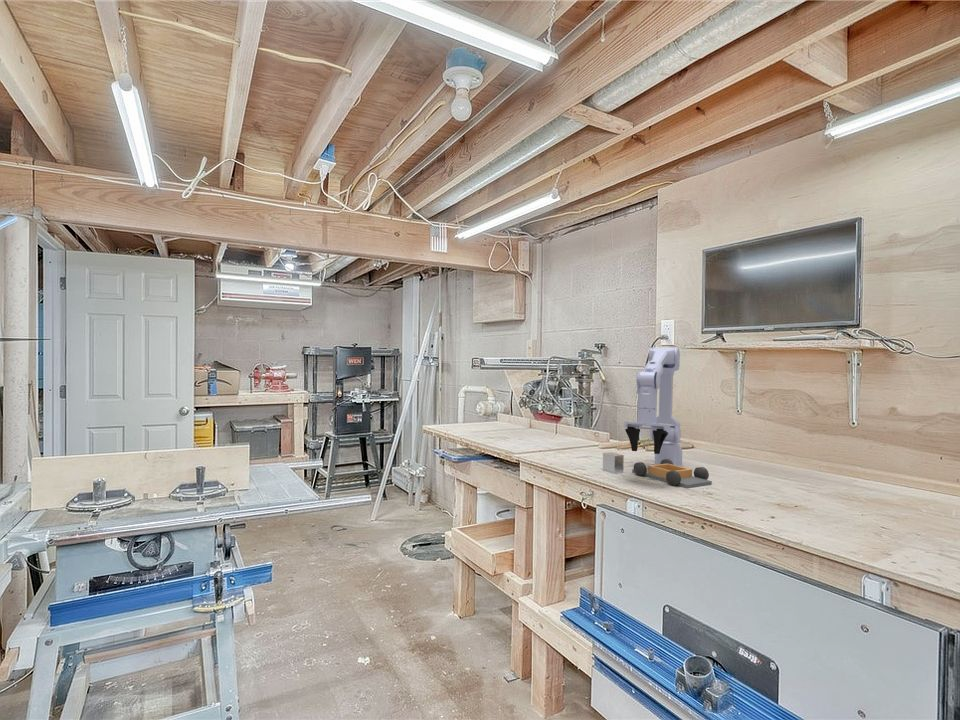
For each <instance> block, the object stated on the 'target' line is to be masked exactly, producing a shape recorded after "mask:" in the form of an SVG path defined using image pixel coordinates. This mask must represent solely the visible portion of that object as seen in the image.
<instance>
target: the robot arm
mask: <svg viewBox="0 0 960 720" xmlns="http://www.w3.org/2000/svg"><path fill="white" fill-rule="evenodd" d="M680 359H681V352H680V349H679V347H677V346H675V347H650V348H649V350H648V361H647V363H646V365H645V366H644V368H643V370H642V371H640V372H638V373H637V375H636V379H635V380H636V382H635V383H636V394H637V396H638V397H637V398H638V399H637V416H636V417H637V419H636V421H624V426H623V427H624V428H625V429H624V430H625V432H626V435H627V438H628V439H629V444H630V448H631V451H632V452H637V451H638V448H639V447H638V446H639V436H640V432H641V429H642V430H649V437H650V440H651V441H653V452H654V453H653V454H654V464H648V466H651V465H659V464H660V463H661V461H662V460H664V459H670V460H671V461H672V462H673V465H676V466H680V467H684V466H683V448H682V446H681V444H679V443H680V441H681V435H682V433H681V431H682V430H681V424H680V421H679V420H678V419H676V417H674V416H673V395H674V394H673V388H674V387H673V386H674V374H675V372H676V371H679V369H680V367H681V366H680V363H681V361H680ZM658 390H659V393H658ZM658 395H659V396H658ZM658 399H659V400H658ZM657 411H658V414H657ZM657 415H658V416H657ZM646 426H647V427H646ZM648 426H649V427H648Z"/></svg>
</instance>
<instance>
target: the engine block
mask: <svg viewBox="0 0 960 720" xmlns="http://www.w3.org/2000/svg"><path fill="white" fill-rule="evenodd" d="M624 457H625V455H623V454H620V453H615V452H612V451H610V452H602V471H605V472H609V473H612V474H623V473H624V464H625V463H624Z"/></svg>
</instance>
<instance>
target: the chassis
mask: <svg viewBox="0 0 960 720" xmlns="http://www.w3.org/2000/svg"><path fill="white" fill-rule="evenodd" d="M650 465H651V466H649V465H648V466H646V464H645V463H644V462H642V461H638V462H635V463H634V464H633V469H632V470H631V473H632V474H635V475H636V476H638V477H639V476H640V477H641V476H643V477H646V478H650V479H654V480H656V481H661V482H664V483H667V484H669V486H677V487H680V488H681V487H682V488H685V489H690V488H697V487H703V486H711V485H712V484H713V483H712V482H713V481H711V480H708V479H709V477H710V473H709V471H708V469H707V468H705V467H704V466H698V467H695V468H694V470H693V469H692V468H688V467H685V466H683V467H680V466H676V465H673V462H672V461H671V460H670V459H664V460H662V461H661V463H660V464H659V465H652V464H650Z"/></svg>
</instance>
